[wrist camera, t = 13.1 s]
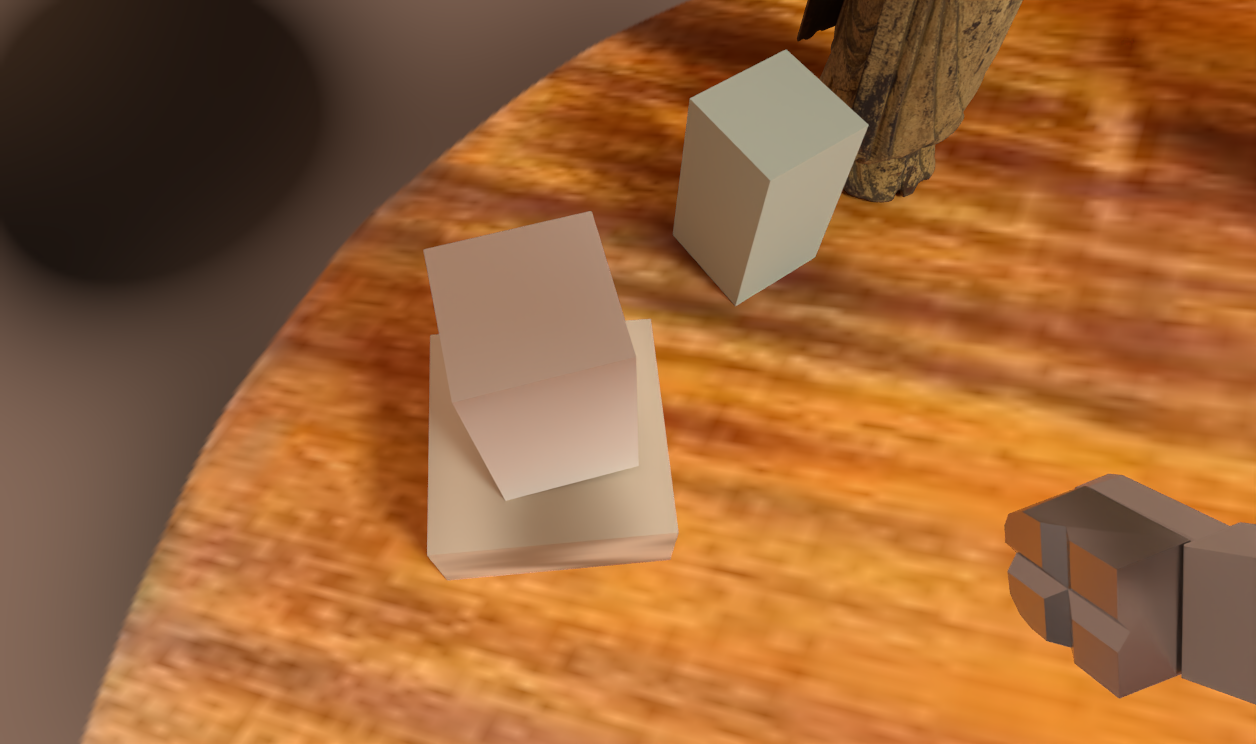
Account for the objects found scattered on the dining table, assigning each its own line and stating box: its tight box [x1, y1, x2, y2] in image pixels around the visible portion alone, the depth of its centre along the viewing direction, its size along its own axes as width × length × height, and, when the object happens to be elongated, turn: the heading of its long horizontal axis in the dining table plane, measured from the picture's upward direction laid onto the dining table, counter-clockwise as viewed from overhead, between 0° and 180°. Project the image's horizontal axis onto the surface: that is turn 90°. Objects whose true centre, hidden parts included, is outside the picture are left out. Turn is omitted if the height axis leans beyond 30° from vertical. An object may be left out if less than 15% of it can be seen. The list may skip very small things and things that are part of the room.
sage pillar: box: [673, 50, 869, 306], centre depth 32 cm, size 4×4×8 cm
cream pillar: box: [423, 211, 639, 501], centre depth 24 cm, size 4×4×8 cm
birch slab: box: [427, 319, 678, 580], centre depth 29 cm, size 8×8×4 cm
